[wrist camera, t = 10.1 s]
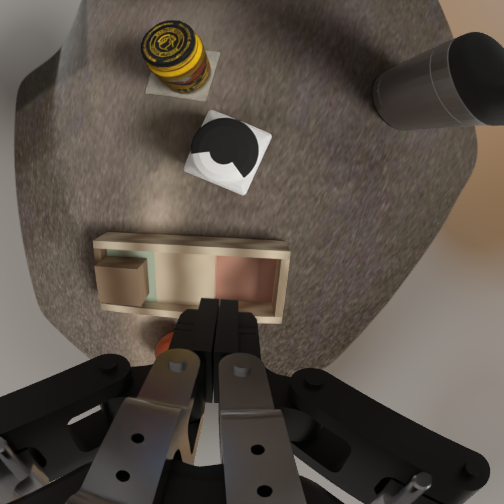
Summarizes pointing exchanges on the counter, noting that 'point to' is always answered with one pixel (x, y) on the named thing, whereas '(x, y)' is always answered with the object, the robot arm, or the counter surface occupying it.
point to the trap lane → (203, 272)
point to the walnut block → (122, 280)
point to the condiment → (178, 61)
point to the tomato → (163, 343)
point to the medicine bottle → (227, 152)
